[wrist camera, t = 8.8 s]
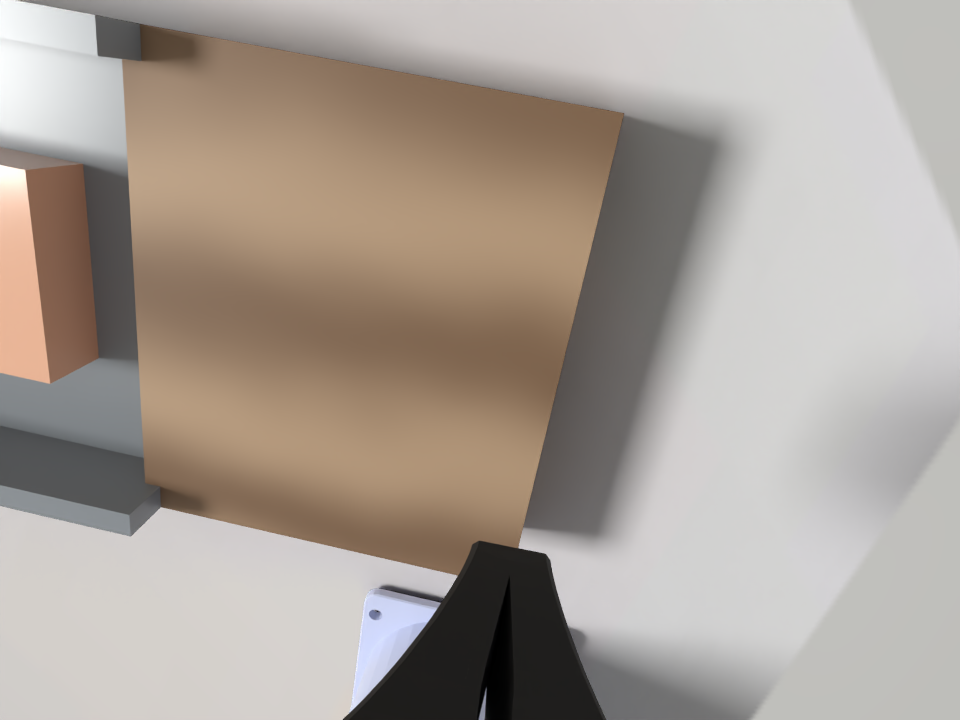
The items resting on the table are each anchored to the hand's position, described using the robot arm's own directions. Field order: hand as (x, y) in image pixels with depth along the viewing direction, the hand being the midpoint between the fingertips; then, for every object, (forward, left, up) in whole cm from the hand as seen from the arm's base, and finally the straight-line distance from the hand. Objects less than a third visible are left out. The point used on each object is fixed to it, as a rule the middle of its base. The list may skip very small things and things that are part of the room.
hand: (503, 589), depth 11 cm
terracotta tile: (+2, +17, -8) cm, 18 cm away
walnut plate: (+1, +5, -9) cm, 11 cm away
